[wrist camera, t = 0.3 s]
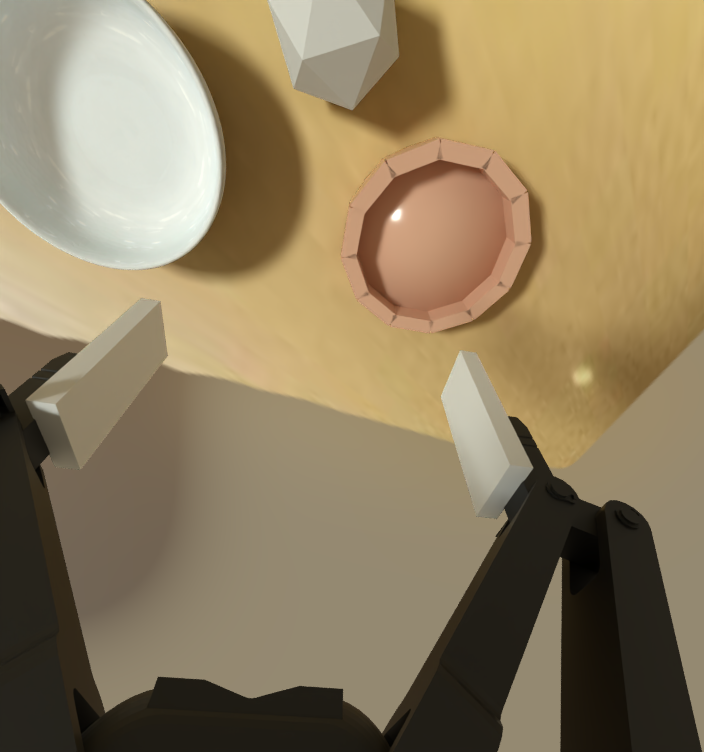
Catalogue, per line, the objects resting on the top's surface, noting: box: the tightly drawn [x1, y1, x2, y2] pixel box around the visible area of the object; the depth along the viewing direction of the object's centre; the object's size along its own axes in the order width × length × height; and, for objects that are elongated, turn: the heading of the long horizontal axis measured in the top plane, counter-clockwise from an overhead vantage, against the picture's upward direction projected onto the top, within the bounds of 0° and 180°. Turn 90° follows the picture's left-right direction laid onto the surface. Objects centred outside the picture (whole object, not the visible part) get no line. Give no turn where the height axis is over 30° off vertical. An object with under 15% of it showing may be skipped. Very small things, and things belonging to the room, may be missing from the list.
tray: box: [341, 137, 531, 333], centre depth 38 cm, size 18×18×4 cm
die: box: [268, 0, 399, 110], centre depth 27 cm, size 8×9×10 cm
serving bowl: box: [0, 0, 226, 270], centre depth 31 cm, size 21×21×7 cm
